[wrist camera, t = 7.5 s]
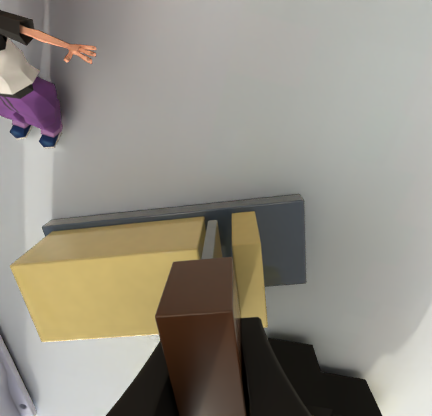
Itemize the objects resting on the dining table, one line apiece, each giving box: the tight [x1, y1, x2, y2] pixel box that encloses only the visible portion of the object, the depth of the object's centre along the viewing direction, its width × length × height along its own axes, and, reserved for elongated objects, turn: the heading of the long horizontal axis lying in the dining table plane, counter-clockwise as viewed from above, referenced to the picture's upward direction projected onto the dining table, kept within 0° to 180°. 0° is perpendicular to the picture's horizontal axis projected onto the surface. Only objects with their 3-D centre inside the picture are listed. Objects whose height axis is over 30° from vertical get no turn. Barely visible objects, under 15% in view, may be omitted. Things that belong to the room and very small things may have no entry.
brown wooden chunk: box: [155, 220, 251, 416], centre depth 11 cm, size 7×2×6 cm, turn 7°
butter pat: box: [232, 211, 268, 328], centre depth 15 cm, size 4×1×4 cm, turn 7°
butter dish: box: [10, 194, 306, 342], centre depth 16 cm, size 5×14×4 cm, turn 97°
